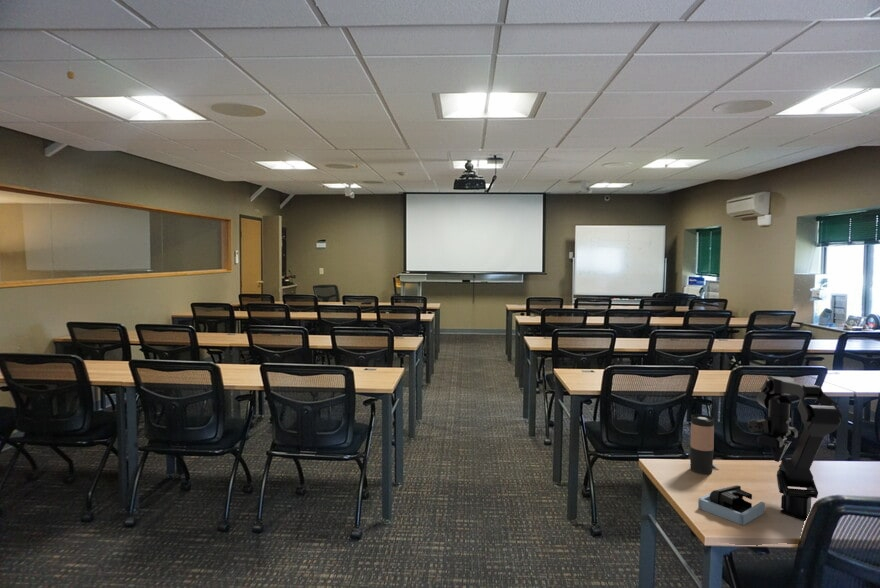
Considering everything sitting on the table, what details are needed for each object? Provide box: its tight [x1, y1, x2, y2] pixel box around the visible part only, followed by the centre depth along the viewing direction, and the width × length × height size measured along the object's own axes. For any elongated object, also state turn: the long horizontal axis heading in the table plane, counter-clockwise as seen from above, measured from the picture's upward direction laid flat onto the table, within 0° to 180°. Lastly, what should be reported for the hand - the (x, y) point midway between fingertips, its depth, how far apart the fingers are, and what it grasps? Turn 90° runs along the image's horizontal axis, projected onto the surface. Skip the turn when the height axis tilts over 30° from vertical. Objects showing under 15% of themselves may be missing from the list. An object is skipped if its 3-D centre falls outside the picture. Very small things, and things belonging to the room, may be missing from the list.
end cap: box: [710, 485, 753, 513], centre depth 154 cm, size 10×7×7 cm
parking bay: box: [697, 487, 766, 526], centre depth 154 cm, size 13×14×3 cm
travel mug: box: [689, 413, 715, 475], centre depth 185 cm, size 8×8×20 cm
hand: (777, 461), depth 165 cm, fingers closed
